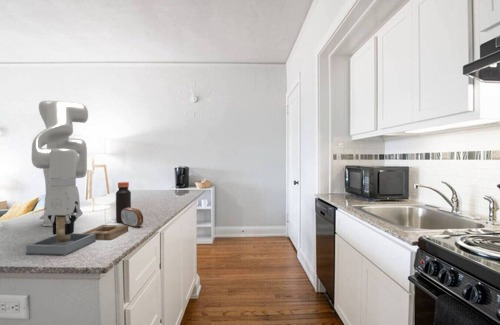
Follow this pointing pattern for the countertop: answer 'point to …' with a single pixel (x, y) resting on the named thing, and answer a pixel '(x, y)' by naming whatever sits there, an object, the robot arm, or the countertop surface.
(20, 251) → the countertop surface
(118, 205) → the bottle
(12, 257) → the countertop surface
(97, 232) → the holder
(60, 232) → the dowel
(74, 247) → the tray
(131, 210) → the tin
